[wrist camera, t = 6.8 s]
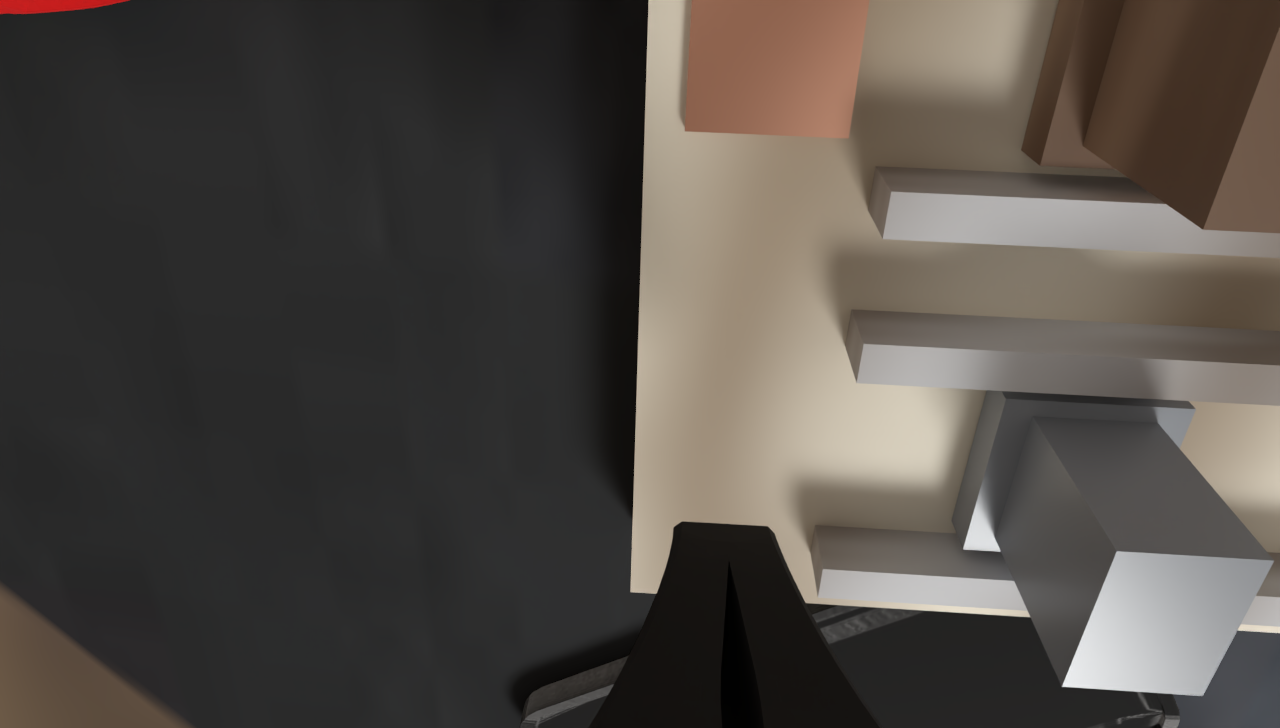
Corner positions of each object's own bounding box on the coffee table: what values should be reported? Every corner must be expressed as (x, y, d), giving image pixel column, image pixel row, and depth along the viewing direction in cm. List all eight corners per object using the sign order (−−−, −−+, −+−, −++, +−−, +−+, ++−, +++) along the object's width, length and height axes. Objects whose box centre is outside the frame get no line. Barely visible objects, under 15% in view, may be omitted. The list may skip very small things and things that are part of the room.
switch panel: (2211, -275, 11) (2721, -326, 8) (1556, 582, 18) (1707, 707, 16) (664, -312, 12) (655, -371, 9) (636, 527, 19) (626, 637, 16)
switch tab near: (1323, -90, 11) (1618, -75, 7) (1229, 159, 12) (1435, 267, 9) (1083, -98, 11) (1262, -86, 7) (1021, 150, 13) (1144, 254, 9)
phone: (1191, 739, 20) (650, 883, 25) (1168, 699, 21) (652, 845, 26) (1097, 510, 17) (498, 721, 22) (1076, 476, 18) (506, 685, 23)
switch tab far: (1172, 383, 14) (1324, 545, 11) (1114, 529, 16) (1230, 711, 12) (991, 374, 14) (1084, 531, 11) (951, 520, 16) (1022, 698, 13)
